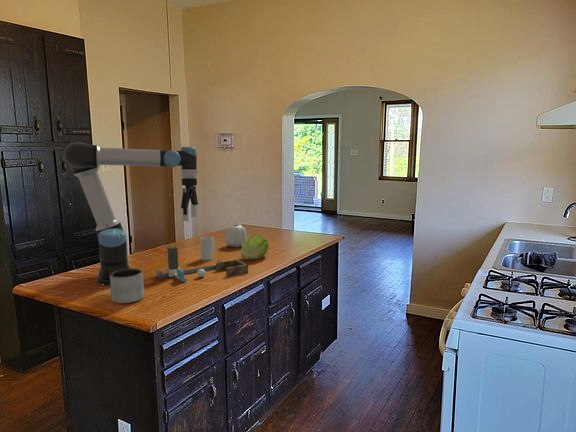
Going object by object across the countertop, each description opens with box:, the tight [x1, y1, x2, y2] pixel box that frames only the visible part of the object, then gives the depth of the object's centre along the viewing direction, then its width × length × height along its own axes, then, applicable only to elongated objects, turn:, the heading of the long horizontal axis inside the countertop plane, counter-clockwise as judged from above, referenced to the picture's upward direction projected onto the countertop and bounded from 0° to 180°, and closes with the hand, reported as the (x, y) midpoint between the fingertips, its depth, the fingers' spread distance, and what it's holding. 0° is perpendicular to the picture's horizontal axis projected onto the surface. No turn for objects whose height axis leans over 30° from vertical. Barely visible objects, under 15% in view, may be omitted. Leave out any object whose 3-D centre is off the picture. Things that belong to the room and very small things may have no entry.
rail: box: [155, 260, 223, 280], centre depth 205 cm, size 33×5×3 cm, turn 124°
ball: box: [196, 269, 206, 278], centre depth 197 cm, size 4×4×4 cm
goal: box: [215, 259, 249, 278], centre depth 206 cm, size 11×12×4 cm
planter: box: [110, 268, 145, 304], centre depth 168 cm, size 12×12×11 cm
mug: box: [199, 236, 216, 261], centre depth 231 cm, size 10×7×12 cm, turn 145°
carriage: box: [165, 246, 187, 283], centre depth 195 cm, size 6×15×13 cm, turn 34°
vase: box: [224, 224, 249, 248], centre depth 260 cm, size 14×14×13 cm
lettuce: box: [240, 234, 269, 261], centre depth 230 cm, size 13×22×14 cm
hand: (189, 219), depth 214 cm, fingers open, 13 cm apart
